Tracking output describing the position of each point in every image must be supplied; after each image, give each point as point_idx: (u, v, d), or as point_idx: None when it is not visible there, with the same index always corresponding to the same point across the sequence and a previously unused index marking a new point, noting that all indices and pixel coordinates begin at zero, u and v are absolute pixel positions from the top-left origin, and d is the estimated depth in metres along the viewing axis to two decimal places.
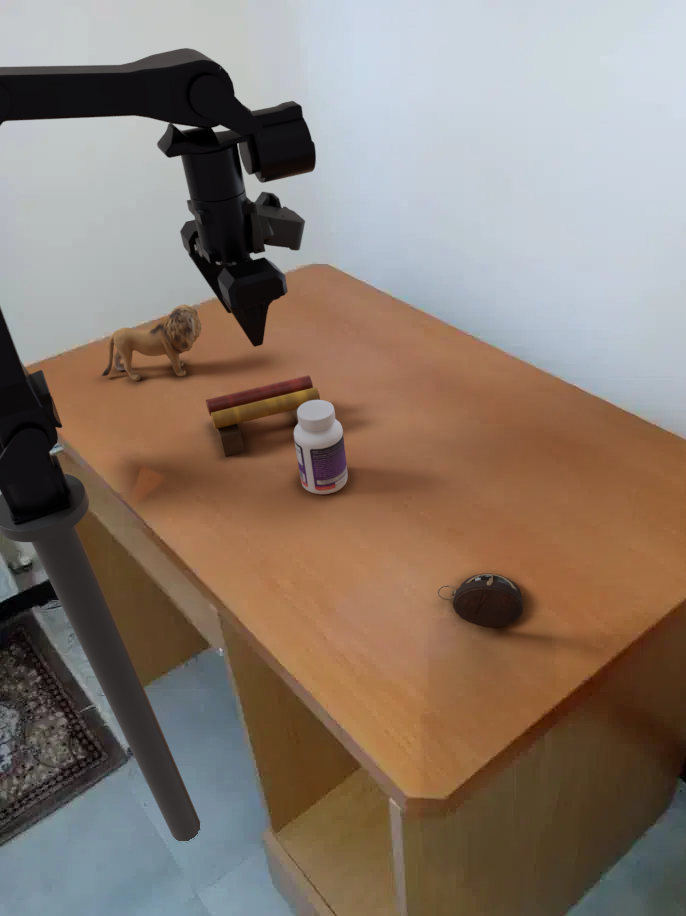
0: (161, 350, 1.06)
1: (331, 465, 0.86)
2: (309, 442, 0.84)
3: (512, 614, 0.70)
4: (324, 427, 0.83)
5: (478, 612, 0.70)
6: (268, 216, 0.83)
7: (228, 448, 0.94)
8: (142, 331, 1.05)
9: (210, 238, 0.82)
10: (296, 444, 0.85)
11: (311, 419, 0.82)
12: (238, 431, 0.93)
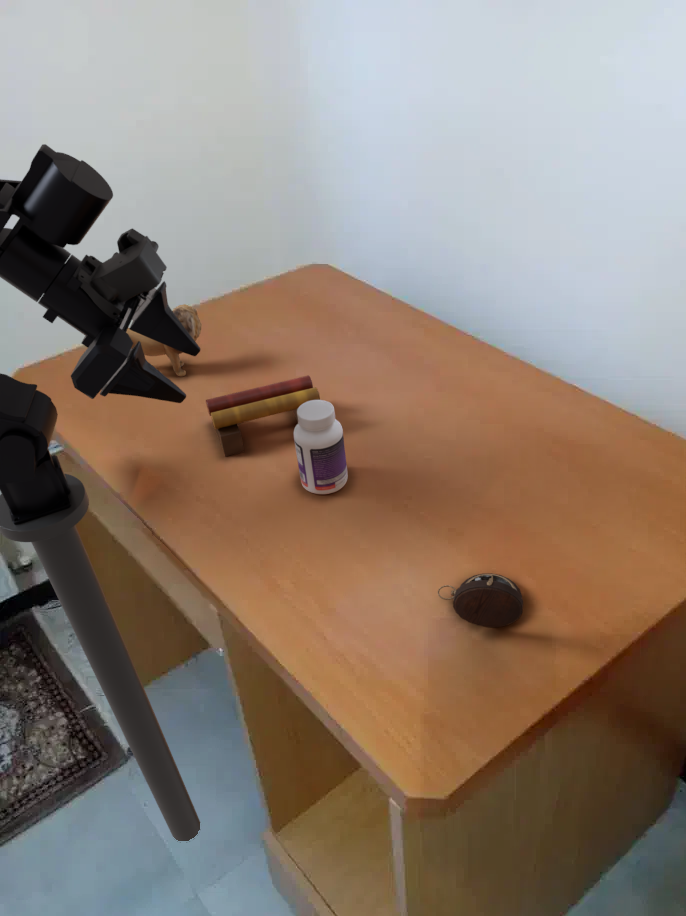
0: (161, 350, 1.06)
1: (331, 465, 0.86)
2: (309, 442, 0.84)
3: (512, 614, 0.70)
4: (324, 427, 0.83)
5: (478, 612, 0.70)
6: (101, 275, 0.74)
7: (228, 448, 0.94)
8: None
9: None
10: (296, 444, 0.85)
11: (311, 419, 0.82)
12: (238, 431, 0.93)
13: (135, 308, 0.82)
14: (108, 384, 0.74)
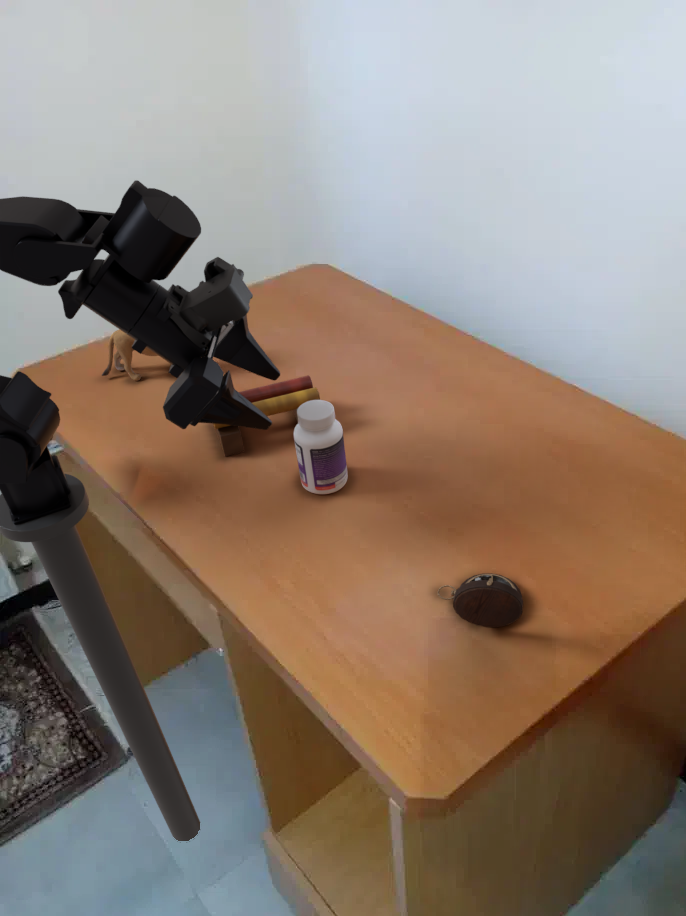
0: None
1: (331, 465, 0.86)
2: (309, 442, 0.84)
3: (512, 614, 0.70)
4: (324, 427, 0.83)
5: (478, 612, 0.70)
6: (190, 305, 0.74)
7: (228, 448, 0.94)
8: None
9: (161, 357, 0.77)
10: (296, 444, 0.85)
11: (311, 419, 0.82)
12: (238, 431, 0.93)
13: (218, 335, 0.82)
14: (198, 414, 0.74)
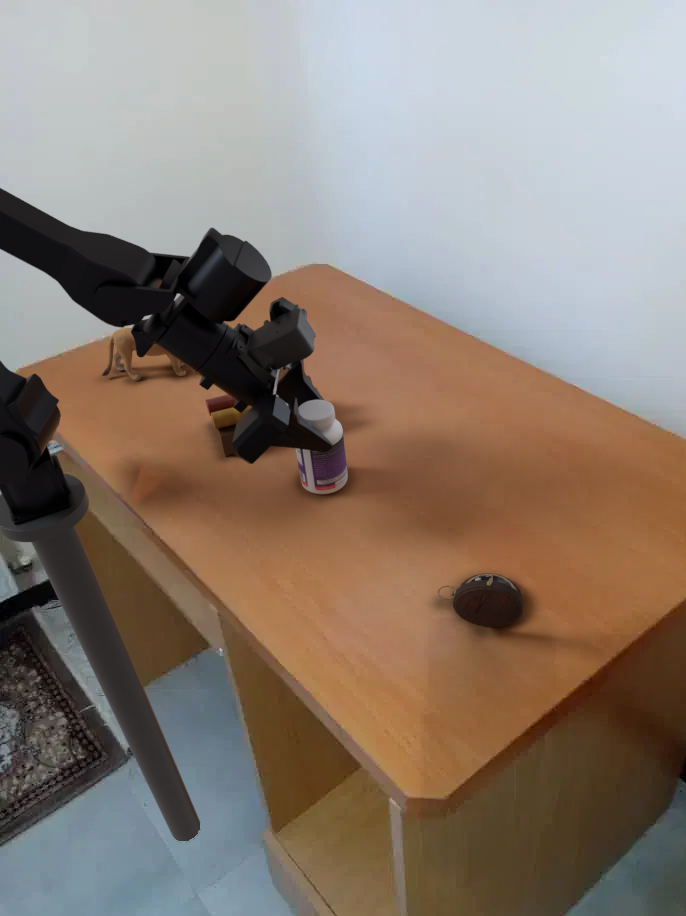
0: (161, 350, 1.06)
1: (331, 465, 0.86)
2: None
3: (512, 614, 0.70)
4: (324, 427, 0.83)
5: (478, 612, 0.70)
6: (258, 345, 0.77)
7: (228, 448, 0.94)
8: None
9: (227, 393, 0.80)
10: None
11: (311, 419, 0.82)
12: None
13: None
14: None
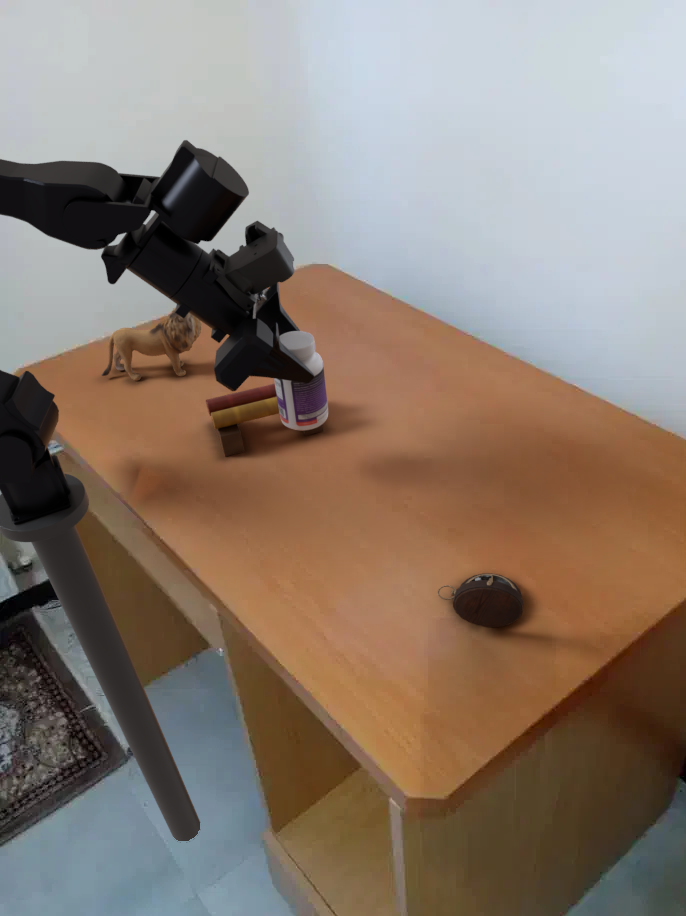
0: (161, 350, 1.06)
1: (312, 398, 0.84)
2: None
3: (512, 614, 0.70)
4: (305, 357, 0.81)
5: (478, 612, 0.70)
6: (237, 268, 0.74)
7: (228, 448, 0.94)
8: (142, 331, 1.05)
9: (203, 321, 0.77)
10: None
11: (292, 348, 0.80)
12: (238, 431, 0.93)
13: None
14: None
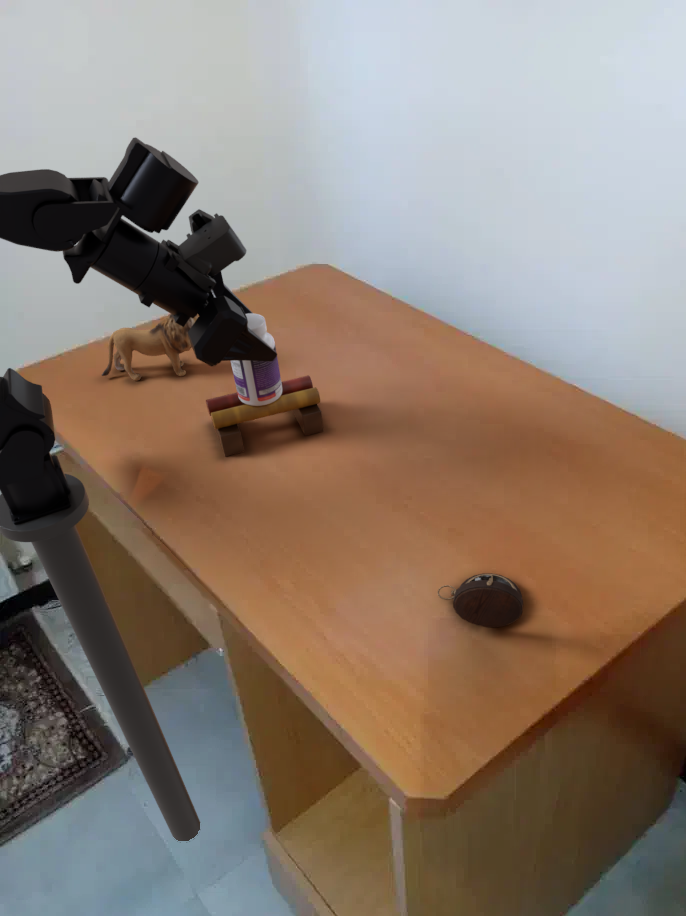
0: (161, 350, 1.06)
1: (270, 373, 0.91)
2: None
3: (512, 614, 0.70)
4: (260, 335, 0.88)
5: (478, 612, 0.70)
6: (195, 252, 0.80)
7: (228, 448, 0.94)
8: (142, 331, 1.05)
9: (167, 308, 0.82)
10: None
11: None
12: (238, 431, 0.93)
13: None
14: None
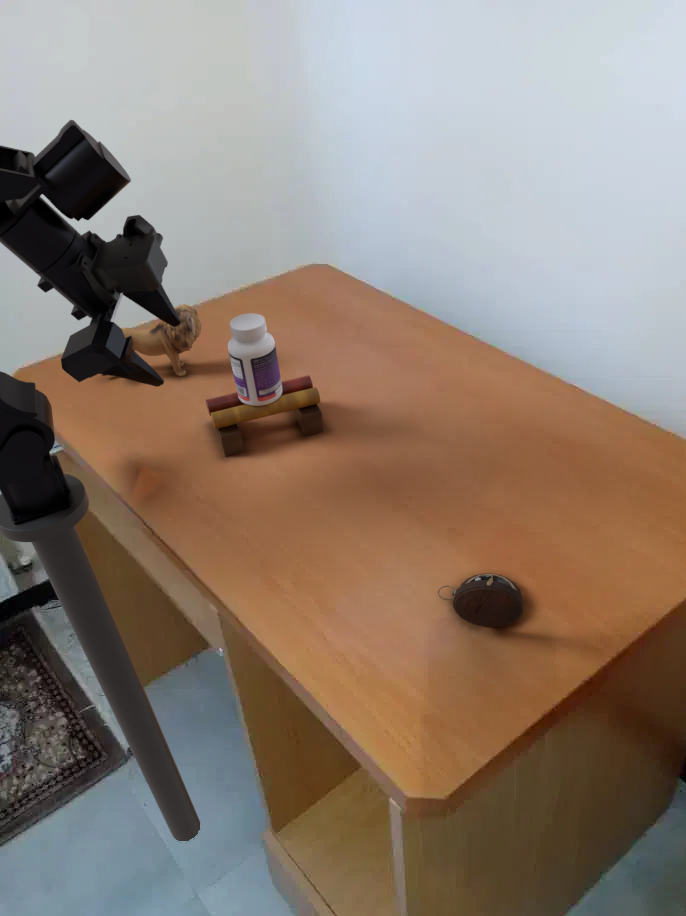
0: (161, 350, 1.06)
1: (270, 373, 0.91)
2: (249, 352, 0.88)
3: (512, 614, 0.70)
4: (260, 335, 0.88)
5: (478, 612, 0.70)
6: (104, 266, 0.76)
7: (228, 448, 0.94)
8: (142, 331, 1.05)
9: None
10: (234, 358, 0.89)
11: (248, 328, 0.87)
12: (238, 431, 0.93)
13: None
14: None
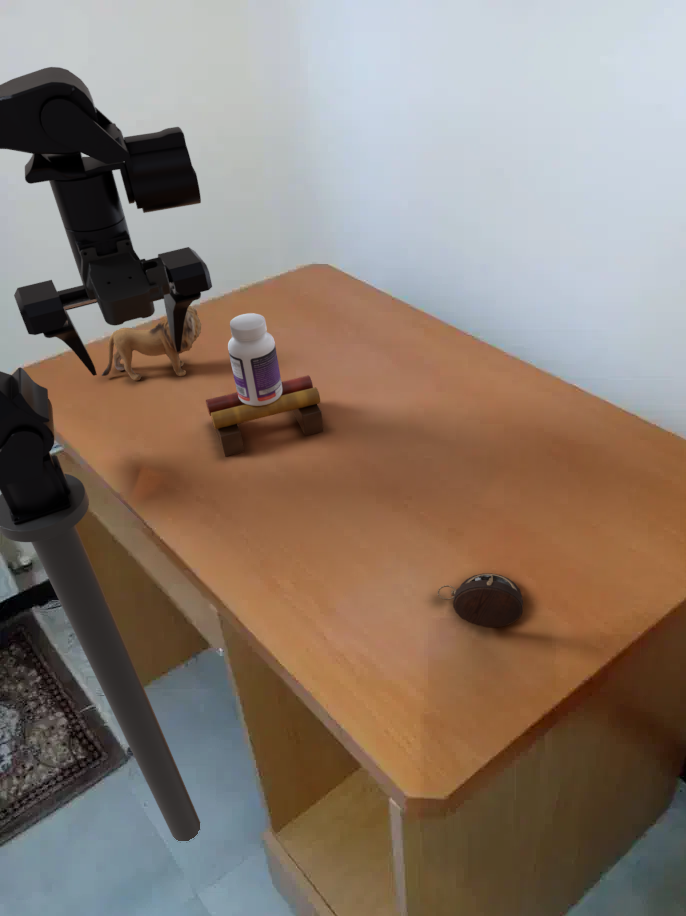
0: (161, 350, 1.06)
1: (270, 373, 0.91)
2: (249, 352, 0.88)
3: (512, 614, 0.70)
4: (260, 335, 0.88)
5: (478, 612, 0.70)
6: (93, 270, 0.74)
7: (228, 448, 0.94)
8: (142, 331, 1.05)
9: None
10: (234, 358, 0.89)
11: (248, 328, 0.87)
12: (238, 431, 0.93)
13: None
14: None
